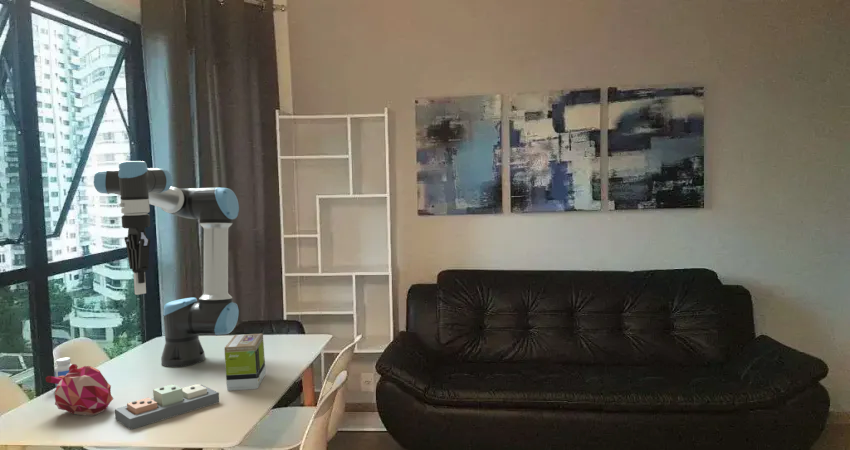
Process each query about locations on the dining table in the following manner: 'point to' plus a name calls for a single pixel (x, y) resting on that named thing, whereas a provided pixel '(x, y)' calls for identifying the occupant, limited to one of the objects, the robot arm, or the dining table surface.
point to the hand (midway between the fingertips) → (140, 293)
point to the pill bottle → (62, 367)
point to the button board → (165, 410)
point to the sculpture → (82, 391)
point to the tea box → (245, 362)
